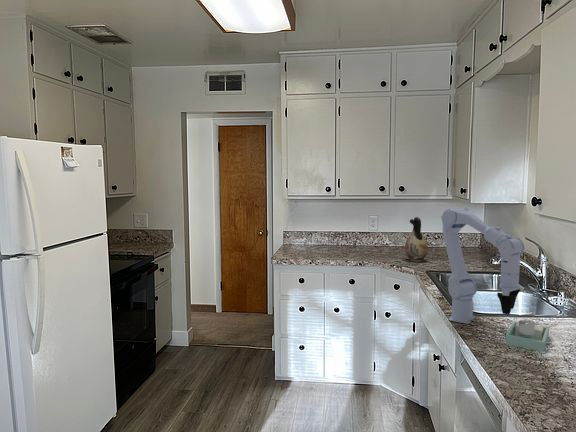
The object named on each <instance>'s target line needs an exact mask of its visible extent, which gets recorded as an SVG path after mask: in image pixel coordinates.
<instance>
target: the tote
mask: <svg viewBox="0 0 576 432" xmlns="http://www.w3.org/2000/svg"><path fill="white" fill-rule="evenodd" d="M517 322H518V321H514V320H513V322H512V323H511V325H510V326H509V328H508V330H507V332H506V333H505V343H504V344H505V345H510V346H514V347H519V348H523V349H524V348H525V349H528V350H534V351H538V352H539V351H540V352H545V350H546V347H547V343H548V339H549V336H550V334H549V333H550V327H548V326H547V327H546V326H543V327H544V330H543V339H542V341H539V340H534V339H529V338H524V337H518V336H515V326H516V324H517Z"/></svg>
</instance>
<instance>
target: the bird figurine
mask: <svg viewBox="0 0 576 432" xmlns="http://www.w3.org/2000/svg"><path fill="white" fill-rule="evenodd" d="M409 224H411V225H412V230H411V232H410V234H409V236H408V237H407V239H405V240H406V241H405V244H404V253H405V255H406V257H408V260H409V261H410V262H419V263H420V262H423V261H424V260H425V258H426V257H427V255H428V253H429V246H428V242H427V240H426V238H425V237H424V235H423V234H422V233H421V232H422V231H421V229H422V220H421V218H420V217H419V216H416V217H414V218H411V219H410V220H409Z"/></svg>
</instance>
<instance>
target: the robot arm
mask: <svg viewBox="0 0 576 432" xmlns="http://www.w3.org/2000/svg"><path fill="white" fill-rule="evenodd" d="M440 218H441V223H442V234H443V235H442V236H443V239H444V245H445V248H446V252H447V256H448V262H449V267H450V270H451V275H450V276H449V278H448V279H447V281H448V283H447V284H448V294H449V295H450V298H451V299H452V300H451V303H452V304H451V316H450V317H449V318H448V321H451V322H456V323H459V324H460V323H462V324H465V325H466V324H467V325H470V323H471V322H472V320H473V319H475V317H476V316H474V301H473V299H474V296H475V295H476V294H477V292H478V287H477V284H476V282H475V281H474V277H473V276H472V275H471V274H470V273H469V272H468V271H467V266H466V263H465V259H464V254H463V250H462V244H461V242H460V237H459V232H460V231H461V229H463V228H464V227H465V226H467V225H468V226H470V227H471V228H473V229H474V230H476V231H478V232H480V233H481V234H483V239H484V240H485V241H487V242H488V243H490V244H491V245H493V246H494V247H495V248H497V250H498V252H499V254H500V260H501V262H500V276H499V277H500V281H499V282H500V283H499V285H498V286H499V288H500V289H501V292H497V294H496V295H497V298H498V300H499V302H500V306H501V313H502V314H503V315H508V316H509V315H510V314H511V311H512V310H513V309H514V307H515V304H516V300H517V297H518V295H519V293H520V291H521V290H523V286H521V285H520V283H519V282H520V269H521V267H520V265H521V254H522V253H523V252H524V251H525V244H524V242H523V241H522V239H520V238H519V237H512V235H510V234H509V233H506V232H504V231H503V230H502V228H501V227H499V226H494V225H493V226H490V225H488V224H487V223H486V222H485V221H483V220H482V219H480V218H479V217H478V216H477V215H475V213H474V212H473V211H472V210H469V209H468V208H466V207H462V208H447V209H445V210H444V211H443V213H442V214H441V216H440Z"/></svg>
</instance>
